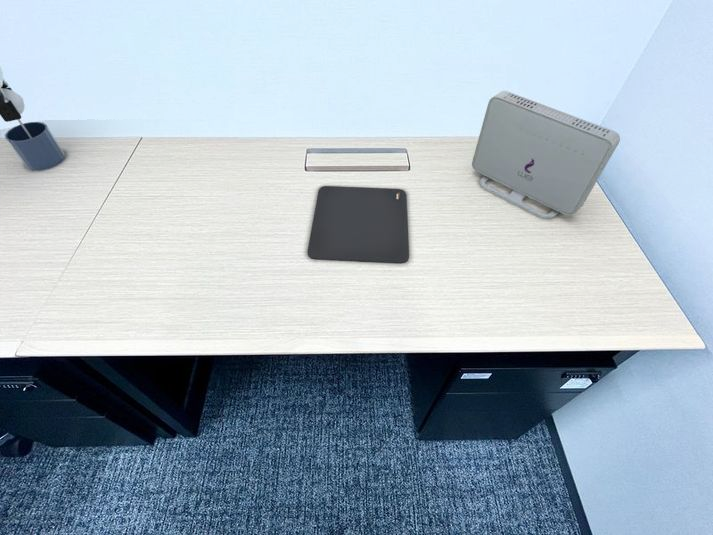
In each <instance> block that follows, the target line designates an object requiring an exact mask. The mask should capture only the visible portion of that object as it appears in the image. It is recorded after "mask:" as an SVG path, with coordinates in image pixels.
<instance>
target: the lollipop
mask: <svg viewBox="0 0 713 535" xmlns="http://www.w3.org/2000/svg"><path fill="white" fill-rule="evenodd" d="M2 90H3V92H4V94H5V95H6V97H7V99H8V101H9V100H11V102H12V103H13V105H14V106H15V108H16V109H17V111H18V112H19V114H20V115H22V114H23V112H24V110H25V102H24V98H23V97H22V96H21V95H20V94H18V93H17V92H15V91H14V90H13V89H12V90H9V89H3V88H2ZM17 121H18V124H19V125H20V124H21V126H22V127H23V129H24V130H25V132H26V133H27V135H28V136H29V137H30V139H31V138H32V137H31V135H30V134H29V132H28V131H27V129H26V128H25V126H24V125H23V124H24V123H23V122H22V120H21V119H18V120H17Z"/></svg>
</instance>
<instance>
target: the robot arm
mask: <svg viewBox="0 0 713 535" xmlns="http://www.w3.org/2000/svg"><path fill="white" fill-rule="evenodd" d="M2 88H3V89H9V90H12V91H13V89H12V88H11V87H10V85H9V84H8V81H6V79H5V78H4V73H3V70H2V67H1V66H0V117H1V118H2V119H3V121H4V122H6V123H8V122H13V121H18V119H20V120H21V119H22V114H19V112H18V111H17V109H16V108H15V106H14V105H13V103H12V102H11V100H9V101H8V99H7V97H6V95H5V94H4V92H3V90H2Z"/></svg>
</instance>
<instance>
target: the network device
mask: <svg viewBox="0 0 713 535" xmlns="http://www.w3.org/2000/svg"><path fill="white" fill-rule="evenodd" d="M620 142H621V135H620V134H619V133H618V132H617V131H615V130H612V129H610V128H607V127H604V126H601V125H598V124H596V123H594V122H591V121H588V120H585V119H584V118H580V117H577V116H574V115H572V114H570V113H566V112H565V111H561V110H559V109H556V108H554V107H550V106H548V105H545V104H542V103H540V102H537V101H535V100H532V99H529V98H526V97H524V96H521V95H518V94H516V93H514V92H510V91H508V90H502V91H500V92H499V93H497V94H496V95H494V96H492V97H491V98H490V99H489V100H488V102H487V106H486V110H485V114H484V118H483V121H482V125H481V128H480V132H479V136H478V139H477V142H476V146H475V150H474V154H473V158H472V161H471V168H472V169H473V170H474V171H475V172H477V173H479V174H480V175H481V174H482V175H483V176H482V177H481V178H480V181H479V184H480V186H481V188H482V189H483V190H485V191H486V192H489V193H491V194H493V195H495V196H497V197H499V198H501V199H503V200H504V201H507V202H508V203H511V204H513V205H514V206H517V207H518V208H520V209H522V210H524V211H526V212H528V213H529V214H532V215H534V216H536V217H538V218H541V219H545V220H547V219H548V220H549V219H554V218H556V217H557V215H558V214H559V213H561V214H563V215H565V216H566V217H567V216H568V217H572V216H574V215H576V214H577V212H578V211H579V210H580V209H581V208H583V206H584V204H585V202H586V201H587V199H588V197H589V196H590V194H591V192H592V190H593V188H594V187H595V185H596V183H597V182H598V180H599V178H600V176H602V173H603V171H604V169H605V168H606V166H607V165H608V163H609V161H610V159H611V158H612V156H613V154H614V152H615V150H616V149H617V147H618V146H619V144H620ZM490 179H491V180H493V181H495V182H497V183H500V184H501V185H502V186H503V185H504V186H506V187H508V188H509V189H512V191H511V192H510V193H508V194H507V193H503V192H502V191H499V190H497V189H496V188H493V187H491V186H489V185H488V184H486V183H487V182H488V181H489V180H490ZM527 197H528V198H530V199H532V200H534V201H536V202H538V203H540V204H542V205H544V206H546V207H549V209H552V210H551V211H550V213H544V212H542V211H539V210H537V209H536V208H533V207H532V206H529V205H527V204H526V203H524V202H523V201H524V200H525V198H527Z"/></svg>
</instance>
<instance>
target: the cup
mask: <svg viewBox="0 0 713 535" xmlns="http://www.w3.org/2000/svg"><path fill="white" fill-rule="evenodd" d="M23 125H24V126H25V128H26V129H27V131H28V132H29V134H30V135H31V137H32V138H31V139H30V137H29V136H28V135H27V133H26V132H25V130H24V129H23V127H22V126H21V124H20V123H19V124H18V125H16V126H14V127H12V128H10V129H9V130H8V131H7V132H5V134H4V139H5V140H6V142H7V143H8V144H9V145H10V147H11V148H12V150H13V151H14V153H15V154H16V155H17V157H19V159H20V161H21V162H22V164H24V166H26V168H27V169H28V170H31V171H36V172H38V171H45V170H50V169H52V168H55V167H57V166H58V165H60V164H61V163H63V161H64V160H65V158H66V153H65V152H64V150H63V149H62V147H61V146H60V144H59V142H58V141H57V139H56V137H55V136H54V134H53V132H52V131H51V130H50V128H49V126H48V125H47V124H46V123H44V122H41V121H28V122H24V123H23Z"/></svg>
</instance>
